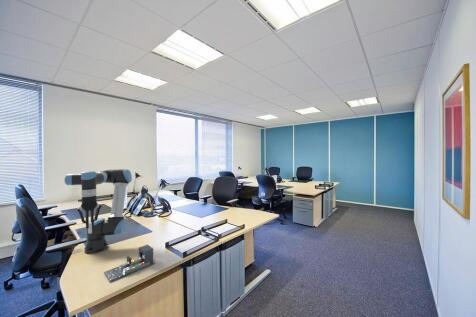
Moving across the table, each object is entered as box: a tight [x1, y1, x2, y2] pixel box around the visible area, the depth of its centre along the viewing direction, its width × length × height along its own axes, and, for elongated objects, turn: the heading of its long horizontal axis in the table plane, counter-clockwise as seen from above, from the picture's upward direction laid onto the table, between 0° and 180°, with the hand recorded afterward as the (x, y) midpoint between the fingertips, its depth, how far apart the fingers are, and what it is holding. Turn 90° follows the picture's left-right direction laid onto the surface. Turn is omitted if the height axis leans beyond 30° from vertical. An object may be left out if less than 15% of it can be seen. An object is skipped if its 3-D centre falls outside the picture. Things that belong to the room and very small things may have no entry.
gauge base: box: [103, 244, 156, 283], centre depth 128 cm, size 13×26×10 cm, turn 137°
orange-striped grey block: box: [126, 255, 143, 266], centre depth 131 cm, size 9×13×6 cm
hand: (89, 232), depth 125 cm, fingers closed
